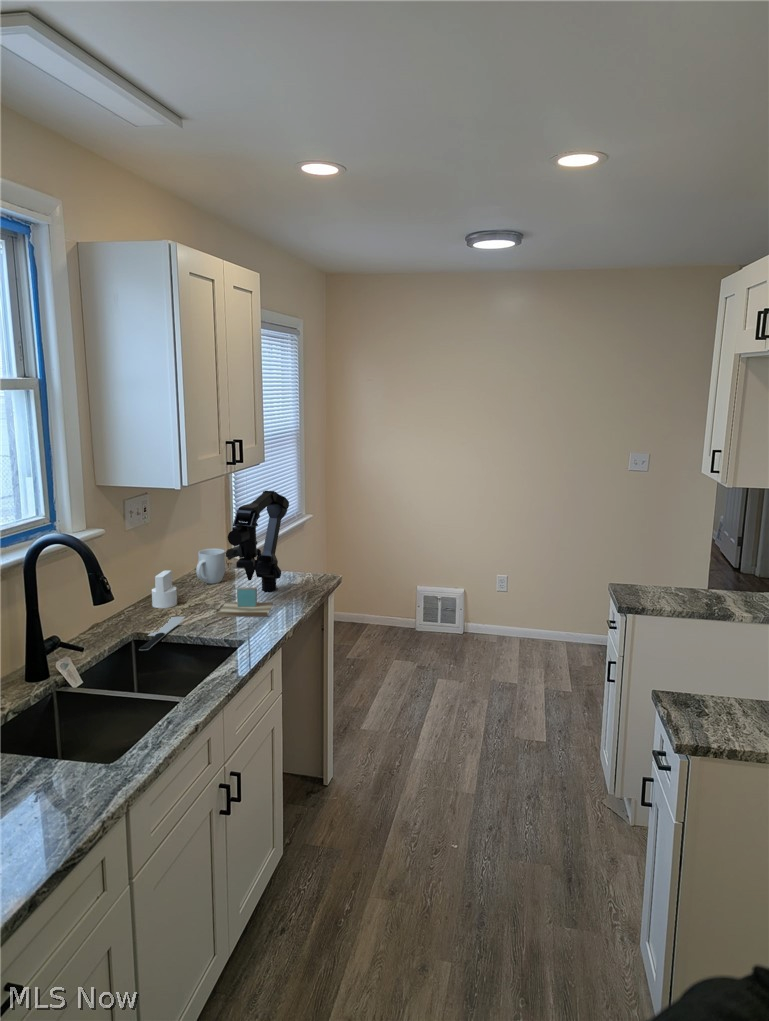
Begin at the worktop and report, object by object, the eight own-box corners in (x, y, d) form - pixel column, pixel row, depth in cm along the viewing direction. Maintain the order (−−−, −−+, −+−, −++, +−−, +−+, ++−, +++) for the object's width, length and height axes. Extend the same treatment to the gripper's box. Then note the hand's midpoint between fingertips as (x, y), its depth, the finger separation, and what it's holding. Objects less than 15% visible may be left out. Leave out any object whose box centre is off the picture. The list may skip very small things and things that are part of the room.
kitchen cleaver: (166, 615, 245) (192, 613, 243) (166, 619, 245) (193, 618, 243) (121, 648, 214) (150, 646, 213) (122, 653, 214) (151, 652, 213)
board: (225, 604, 258) (225, 598, 258) (273, 604, 259) (273, 598, 258) (216, 619, 243) (216, 612, 242) (267, 619, 243) (266, 612, 242)
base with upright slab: (172, 608, 254) (170, 577, 251) (148, 607, 254) (146, 576, 252) (180, 601, 262) (179, 570, 260) (157, 600, 263) (156, 570, 261)
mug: (209, 589, 278) (208, 558, 275) (187, 585, 282) (186, 555, 279) (231, 579, 291) (230, 550, 289) (210, 576, 295) (209, 547, 293)
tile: (238, 605, 254) (237, 587, 253) (257, 605, 255) (256, 587, 253) (237, 606, 253) (236, 588, 252) (256, 607, 253) (255, 588, 252)
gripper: (231, 534, 264) (233, 573, 267) (221, 545, 246) (223, 587, 249) (260, 534, 265) (261, 573, 268) (252, 545, 246) (253, 587, 249)
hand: (249, 580), depth 258 cm, fingers closed
